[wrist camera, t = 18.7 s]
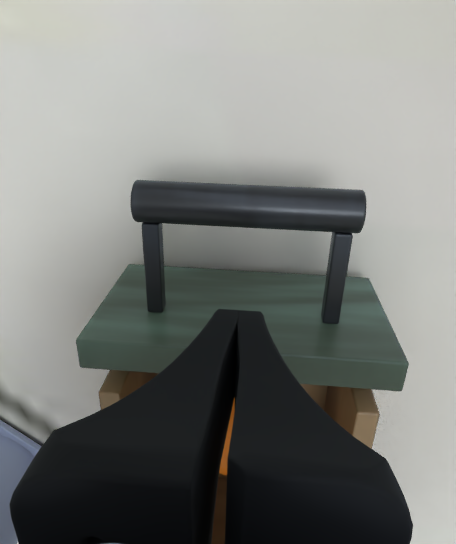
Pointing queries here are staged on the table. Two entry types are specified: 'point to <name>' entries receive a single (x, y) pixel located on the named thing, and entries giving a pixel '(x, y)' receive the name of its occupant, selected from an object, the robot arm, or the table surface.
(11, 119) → the table surface
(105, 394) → the drawer
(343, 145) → the table surface
